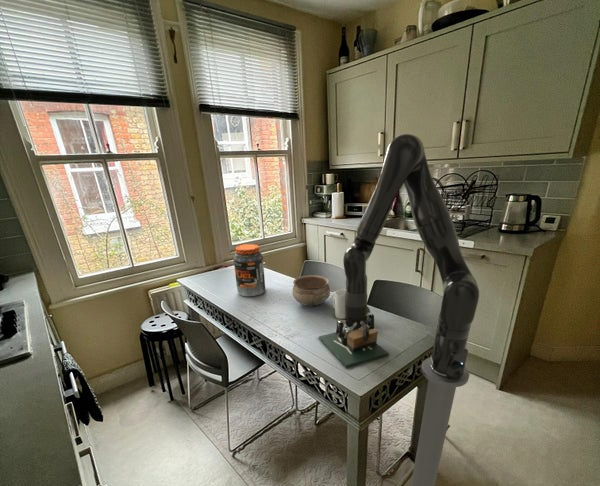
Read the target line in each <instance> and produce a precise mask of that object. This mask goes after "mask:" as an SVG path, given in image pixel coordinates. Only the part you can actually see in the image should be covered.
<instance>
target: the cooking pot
mask: <svg viewBox="0 0 600 486" xmlns="http://www.w3.org/2000/svg"><path fill="white" fill-rule="evenodd" d="M329 282H330V280H329V278H327V277H324V276H321V275H302V276H299V277H296V278H295V279H294V280H293V282H292V283H293V286H292V290H291V291H292V292H291V293H292V296H293V299H294V300H295V301H296V302H298V303H299V304H301V305H304V306H305V307H309V308H311V307H312V308H313V307H316V306H319V305H322V304H323V303H325V302H326V301H327V300H328V299H329V297H330V296H331V288H330V285H329Z"/></svg>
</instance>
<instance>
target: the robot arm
mask: <svg viewBox="0 0 600 486" xmlns="http://www.w3.org/2000/svg"><path fill="white" fill-rule="evenodd" d="M428 163H429V162H428V160H427V156H426V152H425V147H424V143H423V141H422V140H421V139H420V137H418V136H417V135H414V134H411V133H403V134H400V135H397V136H396V137H395V138H393V139H392V140H391V141H390V143H389V145H388V146H387V149H386V155H385V156H384V161H383V165H382V169H381V170H380V171H381V172H380V175H379V177H378V181H377V184H376V186H375V188H374V191H373V194H372V195H371V197H370V199H369V201H368V204H367V206H366V208H365V209H364V210H365V211H364V213H363V214H362V217H361V219H360V221H359V223H358V226H357V228H356V235H355V237H354V239H353V242H352V244H351V245H350V246H349V247H348V248H347V249H346V250H345V252H344V254H343V260H342V263H343V264H342V265H343V270H344V274H345V290H346V293H345V319H337V320H336V330H335V332H336V335H338V336H339V337H340V338H341V343H342V344H343V345H344V346H345V347H346V346H347V336H348V335H349V333H351V332H352V330H355V329H362V328H363V329H364V330H363V339H364V340H365V341H367V340H368V338H369V331H370V330H371V329H374V330H375V315H374V314H373V312H371V311H370V312H368V314H367V307H368V275H367V274H366V270H365V269H366V263H367V261H368V260H369V259H370V257H371V255H372V253H373V251H374V248H375V245H376V243H377V240H378V238H379V237H380V235H381V233H382V231H383V229H384V227H385V225H386V222H387V221H388V219H389V215H390V214H391V211H392V208H393V206H394V203H395V201H396V198H397V195H398V193H399V192H400V189H402V186H404V188H405V191H406V193H407V197H408V203H409V207H410V211H411V216H412V219H413V223H414V226H415V228H416V230H417V232H418V235H419V237H420V240H421V241H422V243H423V245H424V247H425V249H426V250H427V251H428V253H429V255H430V256H431V257H432V259H433V261H434V262H435V264H436V267H437V269H438V272H439V276H440V278H441V283H442V292H443V295H442V301H441V307H440V311H439V315H438V319H437V323H436V324H437V325H436V331H435V335H434V341H433V348H432V354H431V356H430V357H429V358H431V364H430V368H431V370H432V371H433V372H434V373H435V374H437V375H439V376H442V377H446V378H447V379H452V378H453V381H457V380H459V379H460V378H461V375H463V372H464V368H465V367H466V363H467V358H468V354H469V350H468V349H467V345H468V344H467V343H468V339H469V334H470V329H471V326H472V323H473V322H474V319H475V316H476V312H477V308H478V305H479V304H478V303H479V299H480V289H479V286H478V282H477V280H476V278H475V277H474V275H473V274H472V271H471V270H470V268H469V266H468V265H467V263H466V261H465V259H464V257H463V254H462V251H461V248H460V243H459V242H460V241H459V238H458V234H457V229H456V227H455V224H454V222H453V219H452V216H451V213H450V211H449V209H448V207H447V204H446V202H445V200H444V198H443V196H442V194H441V192H440V191H439V189H438V187H437V185H436V183H435V181H434V179H433V176H432V174H431V171H430V170H431V169H430V167H429V164H428ZM366 319H368V321H367V324H366V323H365V321H366ZM345 332H346V333H345ZM455 377H457V378H455Z"/></svg>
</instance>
